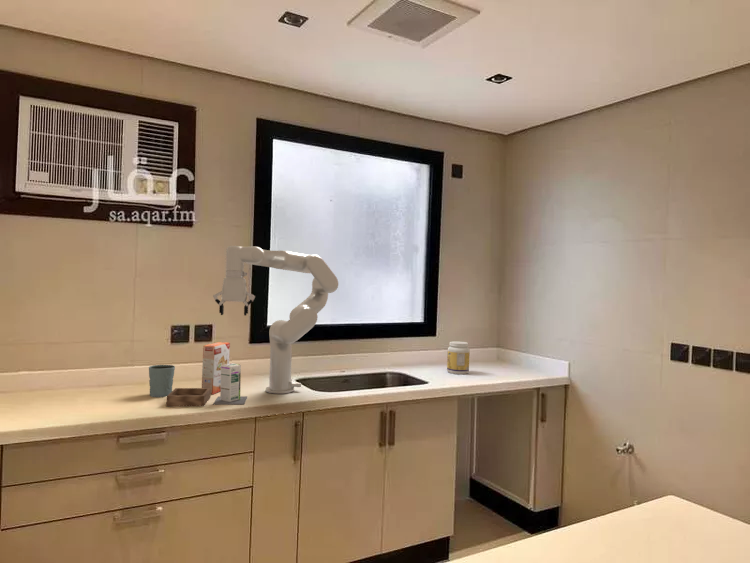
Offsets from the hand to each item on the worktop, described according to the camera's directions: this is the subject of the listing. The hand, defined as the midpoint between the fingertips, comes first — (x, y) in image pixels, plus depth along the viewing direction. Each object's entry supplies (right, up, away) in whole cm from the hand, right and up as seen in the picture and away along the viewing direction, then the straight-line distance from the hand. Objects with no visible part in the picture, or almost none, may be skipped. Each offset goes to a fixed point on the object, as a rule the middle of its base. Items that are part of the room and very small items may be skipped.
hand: (233, 315), depth 221 cm
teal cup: (-30, -34, -3) cm, 45 cm away
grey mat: (+1, -35, -9) cm, 36 cm away
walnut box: (-14, -34, -13) cm, 39 cm away
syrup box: (+1, -34, -9) cm, 36 cm away
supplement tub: (+107, -37, +69) cm, 132 cm away
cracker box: (-10, -34, +7) cm, 36 cm away
